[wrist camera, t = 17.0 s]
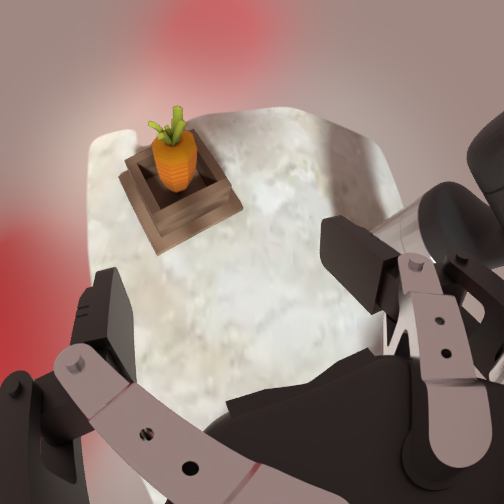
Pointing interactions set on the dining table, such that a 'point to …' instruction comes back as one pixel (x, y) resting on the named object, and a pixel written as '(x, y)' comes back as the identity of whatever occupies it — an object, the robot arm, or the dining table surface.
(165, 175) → the carrot
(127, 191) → the socket block
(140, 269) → the dining table surface
